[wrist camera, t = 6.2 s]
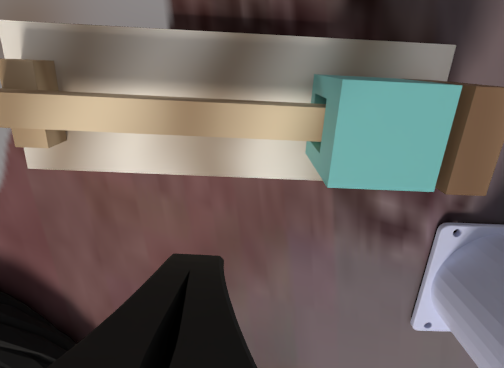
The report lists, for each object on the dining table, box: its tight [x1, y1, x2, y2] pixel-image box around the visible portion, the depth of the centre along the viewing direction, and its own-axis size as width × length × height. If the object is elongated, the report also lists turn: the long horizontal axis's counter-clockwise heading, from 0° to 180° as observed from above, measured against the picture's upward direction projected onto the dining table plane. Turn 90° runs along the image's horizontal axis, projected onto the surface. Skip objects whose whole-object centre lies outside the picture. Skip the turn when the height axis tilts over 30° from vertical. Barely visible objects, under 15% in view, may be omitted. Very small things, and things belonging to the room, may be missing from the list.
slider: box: [305, 74, 463, 192], centre depth 13 cm, size 4×4×5 cm
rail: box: [0, 20, 504, 196], centre depth 14 cm, size 21×7×6 cm, turn 87°
